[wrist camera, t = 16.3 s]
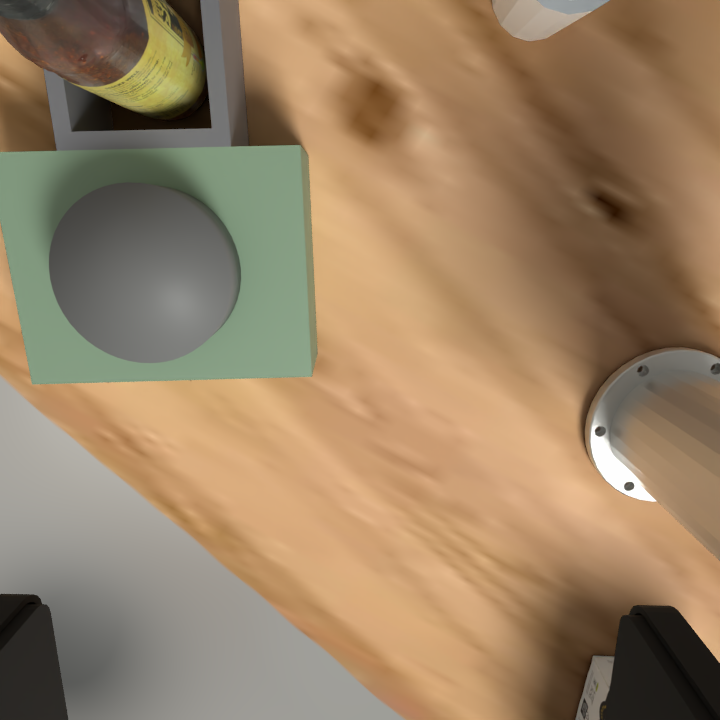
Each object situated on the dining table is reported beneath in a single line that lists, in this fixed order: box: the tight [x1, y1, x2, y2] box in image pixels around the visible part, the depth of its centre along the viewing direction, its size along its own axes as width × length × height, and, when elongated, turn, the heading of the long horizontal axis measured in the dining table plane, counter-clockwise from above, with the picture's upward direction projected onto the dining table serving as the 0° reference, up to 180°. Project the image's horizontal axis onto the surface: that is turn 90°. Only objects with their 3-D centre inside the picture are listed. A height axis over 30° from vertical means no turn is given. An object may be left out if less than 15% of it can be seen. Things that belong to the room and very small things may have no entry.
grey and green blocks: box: [0, 0, 317, 384], centre depth 33 cm, size 18×25×9 cm
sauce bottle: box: [0, 0, 208, 121], centre depth 26 cm, size 7×6×20 cm
